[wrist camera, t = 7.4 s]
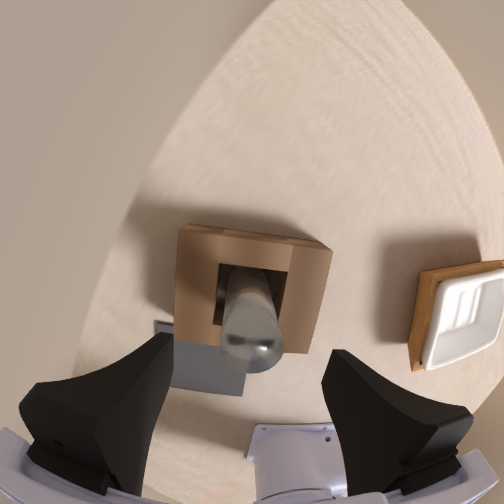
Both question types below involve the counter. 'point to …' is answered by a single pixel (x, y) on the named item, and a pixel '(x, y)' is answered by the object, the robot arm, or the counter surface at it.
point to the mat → (202, 368)
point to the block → (250, 255)
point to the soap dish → (456, 313)
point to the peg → (250, 323)
